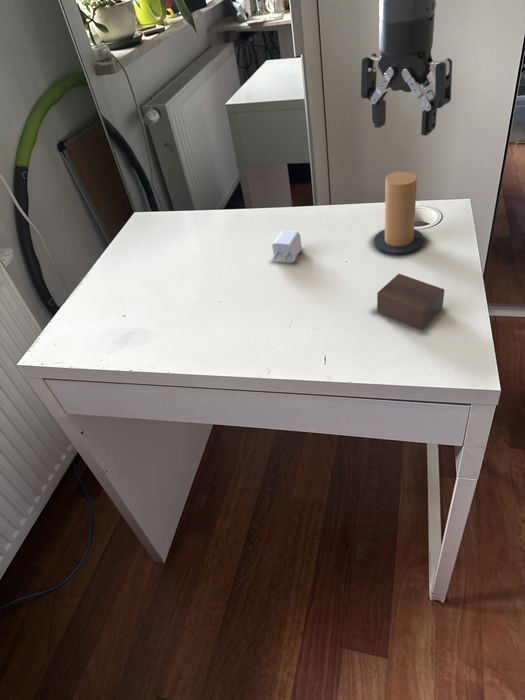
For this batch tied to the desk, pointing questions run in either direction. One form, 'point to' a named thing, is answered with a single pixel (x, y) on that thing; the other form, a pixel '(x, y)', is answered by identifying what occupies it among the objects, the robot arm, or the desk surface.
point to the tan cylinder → (400, 208)
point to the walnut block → (410, 301)
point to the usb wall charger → (286, 246)
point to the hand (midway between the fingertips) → (402, 129)
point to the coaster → (402, 250)
